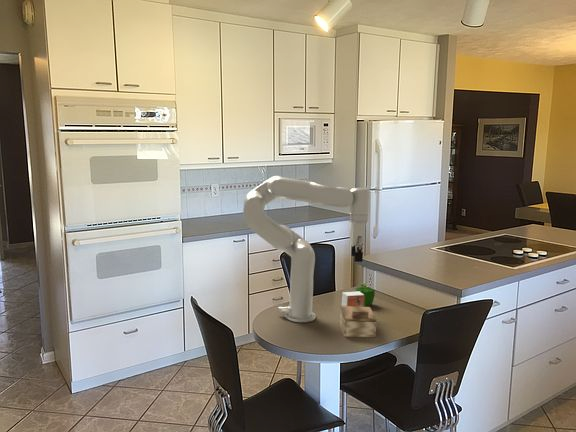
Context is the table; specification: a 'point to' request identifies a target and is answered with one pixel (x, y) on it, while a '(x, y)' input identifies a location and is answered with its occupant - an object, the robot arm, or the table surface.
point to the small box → (353, 299)
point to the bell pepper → (367, 294)
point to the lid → (357, 313)
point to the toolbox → (357, 328)
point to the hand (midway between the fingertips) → (356, 258)
